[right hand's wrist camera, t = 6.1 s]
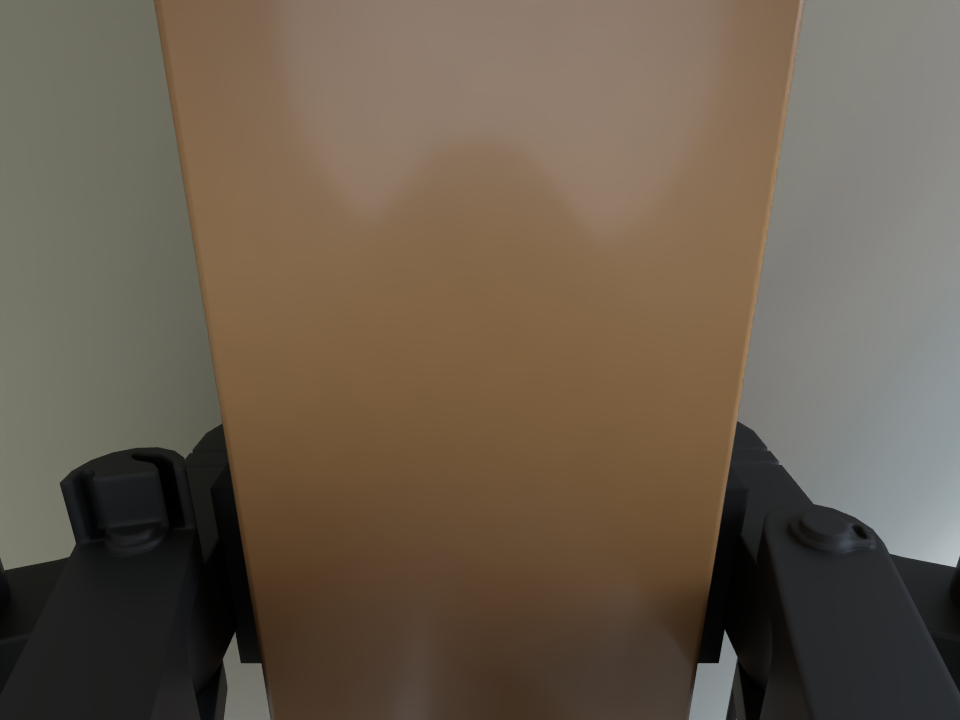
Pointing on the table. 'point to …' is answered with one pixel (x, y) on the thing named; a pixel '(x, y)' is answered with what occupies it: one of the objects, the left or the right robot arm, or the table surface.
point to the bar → (479, 333)
